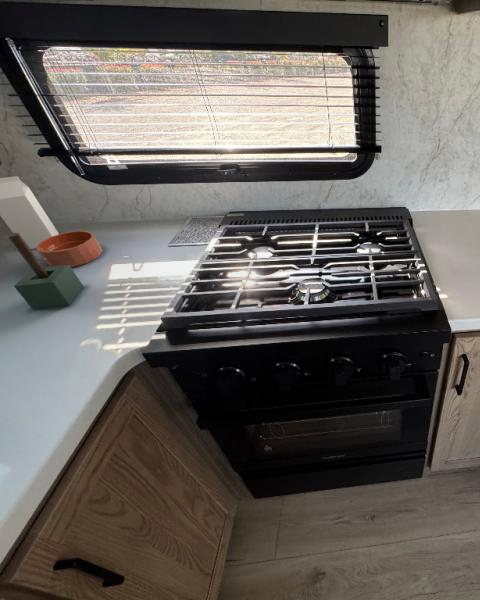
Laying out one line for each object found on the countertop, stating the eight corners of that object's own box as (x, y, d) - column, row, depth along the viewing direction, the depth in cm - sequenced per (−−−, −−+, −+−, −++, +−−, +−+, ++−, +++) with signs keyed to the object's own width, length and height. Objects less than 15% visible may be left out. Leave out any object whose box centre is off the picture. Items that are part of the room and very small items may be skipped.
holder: (34, 311, 78) (13, 286, 73) (51, 292, 83) (32, 268, 79) (71, 307, 79) (52, 282, 75) (85, 288, 85) (69, 264, 80)
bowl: (39, 272, 90) (25, 254, 86) (63, 250, 99) (51, 232, 95) (92, 267, 92) (81, 249, 89) (110, 246, 101) (100, 229, 98)
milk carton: (58, 244, 101) (15, 180, 89) (26, 251, 98) (-23, 185, 86) (60, 235, 106) (19, 172, 94) (29, 241, 102) (-17, 176, 91)
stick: (54, 302, 80) (4, 237, 70) (58, 297, 82) (10, 233, 71) (63, 301, 81) (15, 236, 70) (67, 296, 82) (20, 232, 72)
